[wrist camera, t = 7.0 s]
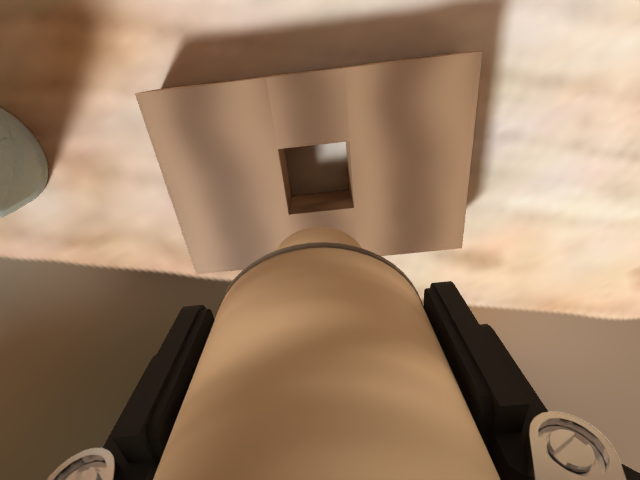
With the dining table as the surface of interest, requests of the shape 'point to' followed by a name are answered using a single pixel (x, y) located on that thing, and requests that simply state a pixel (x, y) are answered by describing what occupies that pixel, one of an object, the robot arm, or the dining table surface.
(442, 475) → the wooden peg
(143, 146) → the dining table surface
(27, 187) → the grey green cup
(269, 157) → the walnut slab
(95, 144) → the dining table surface
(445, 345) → the robot arm
